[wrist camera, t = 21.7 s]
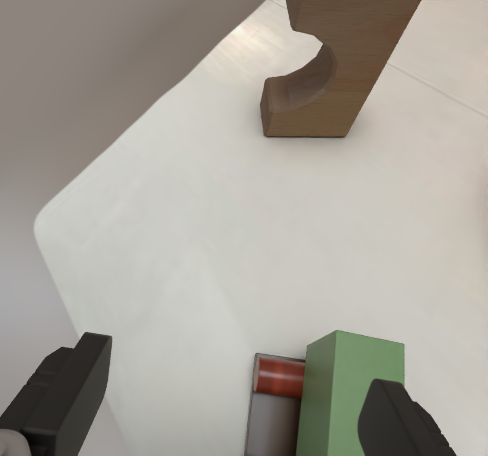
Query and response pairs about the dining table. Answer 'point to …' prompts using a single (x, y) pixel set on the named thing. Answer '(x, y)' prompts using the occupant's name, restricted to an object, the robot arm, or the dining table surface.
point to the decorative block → (334, 65)
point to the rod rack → (274, 406)
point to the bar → (342, 390)
